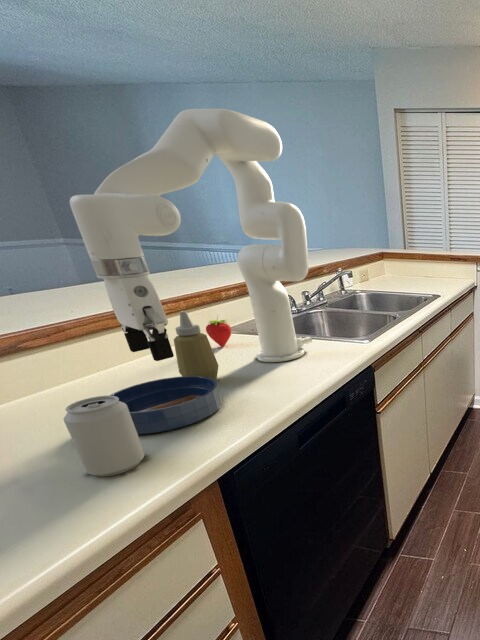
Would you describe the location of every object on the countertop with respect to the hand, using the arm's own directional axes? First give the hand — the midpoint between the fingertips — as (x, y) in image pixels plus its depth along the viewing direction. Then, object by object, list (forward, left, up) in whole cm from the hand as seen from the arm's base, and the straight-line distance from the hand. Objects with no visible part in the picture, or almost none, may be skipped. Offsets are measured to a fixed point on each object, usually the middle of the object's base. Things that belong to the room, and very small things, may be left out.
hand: (152, 354), depth 85 cm
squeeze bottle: (-12, -13, -13) cm, 22 cm away
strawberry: (-31, -40, -13) cm, 52 cm away
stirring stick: (+1, 0, -13) cm, 13 cm away
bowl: (+1, 0, -13) cm, 13 cm away
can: (+15, +15, -13) cm, 25 cm away
